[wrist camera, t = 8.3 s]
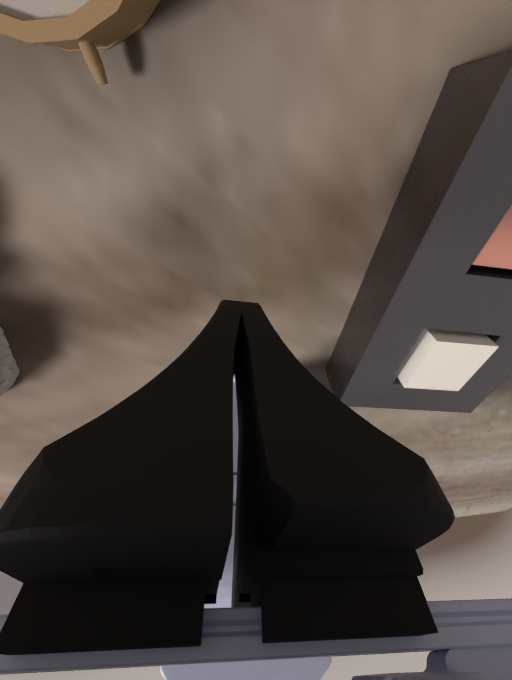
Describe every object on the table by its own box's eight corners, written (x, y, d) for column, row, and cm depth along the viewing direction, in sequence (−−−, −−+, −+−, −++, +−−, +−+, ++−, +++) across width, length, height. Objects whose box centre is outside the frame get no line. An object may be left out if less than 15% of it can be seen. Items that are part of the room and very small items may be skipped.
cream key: (436, 363, 22) (458, 391, 20) (386, 359, 22) (404, 387, 20) (468, 320, 20) (499, 346, 17) (413, 314, 19) (437, 341, 17)
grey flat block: (443, 378, 26) (470, 412, 23) (325, 370, 25) (337, 405, 22) (662, 112, 14) (784, 108, 11) (450, 68, 12) (520, 48, 9)
